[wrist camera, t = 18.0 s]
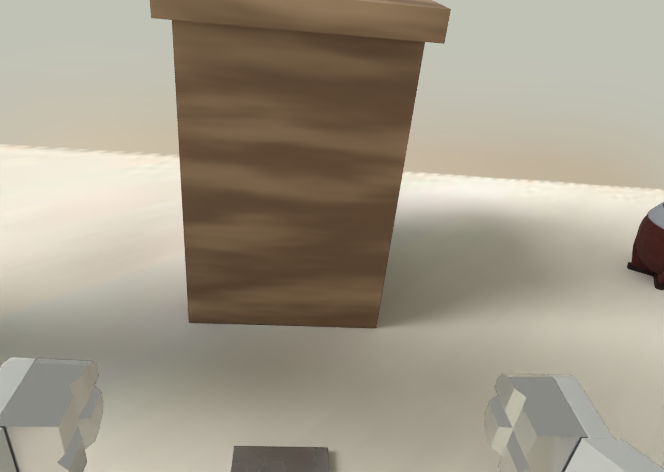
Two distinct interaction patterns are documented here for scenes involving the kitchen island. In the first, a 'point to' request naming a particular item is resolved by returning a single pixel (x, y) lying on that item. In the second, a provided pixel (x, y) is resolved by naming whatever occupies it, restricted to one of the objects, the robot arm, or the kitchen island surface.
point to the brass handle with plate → (280, 459)
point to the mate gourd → (650, 246)
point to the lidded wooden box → (293, 151)
